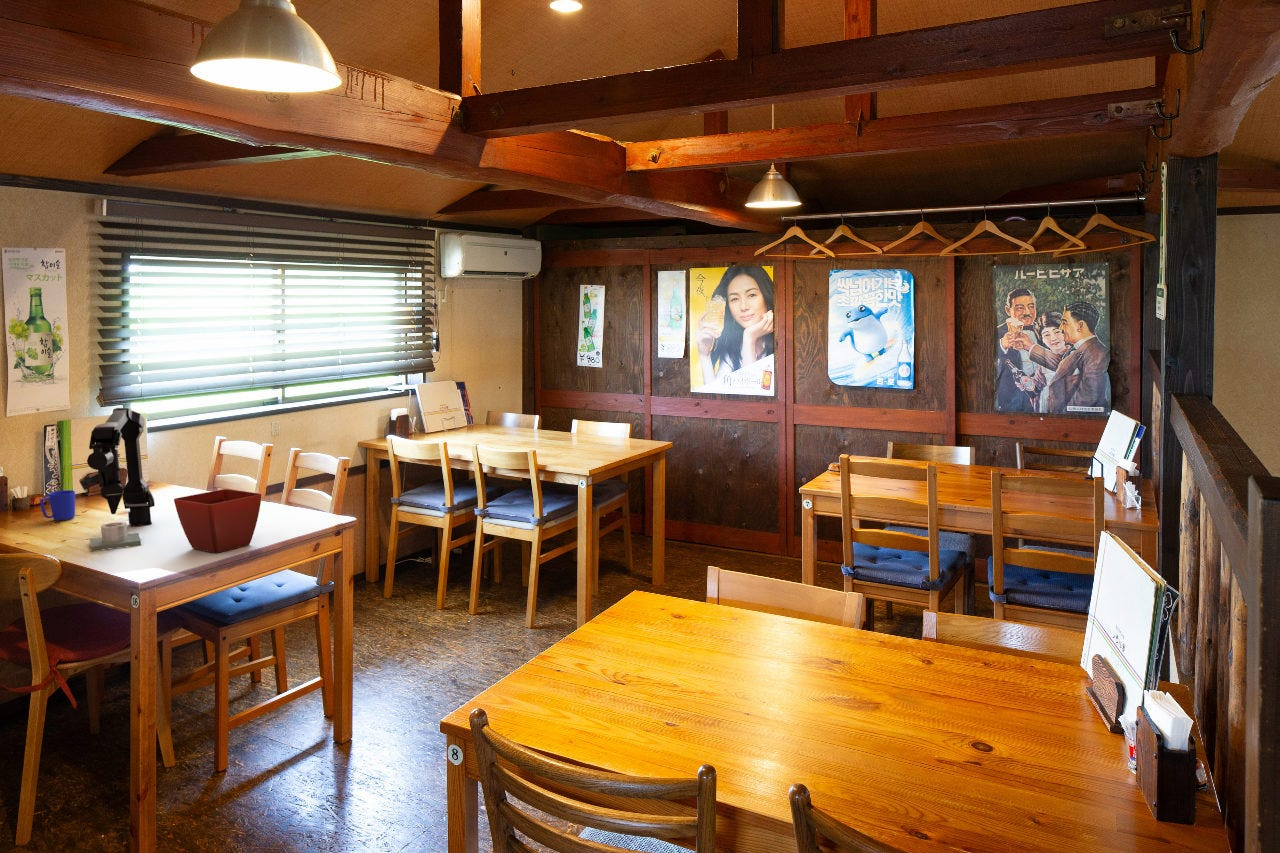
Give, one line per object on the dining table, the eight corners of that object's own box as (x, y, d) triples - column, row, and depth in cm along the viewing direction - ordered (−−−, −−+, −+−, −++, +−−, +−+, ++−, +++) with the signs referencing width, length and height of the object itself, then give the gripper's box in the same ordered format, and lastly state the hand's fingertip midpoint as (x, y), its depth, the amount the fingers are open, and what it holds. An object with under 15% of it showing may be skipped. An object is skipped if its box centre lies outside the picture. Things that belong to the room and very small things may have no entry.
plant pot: (229, 536, 307) (225, 487, 305) (266, 543, 298) (263, 493, 295) (176, 550, 291) (172, 498, 289) (213, 558, 281) (209, 504, 279)
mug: (35, 523, 328) (32, 496, 327) (67, 515, 339) (64, 489, 338) (50, 525, 325) (48, 497, 324) (82, 517, 336) (80, 491, 335)
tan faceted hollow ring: (126, 535, 303) (125, 521, 303) (128, 540, 297) (126, 525, 296) (101, 538, 299) (100, 524, 299) (102, 543, 293) (101, 528, 293)
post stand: (138, 537, 307) (137, 518, 306) (141, 545, 297) (139, 525, 296) (90, 543, 300) (88, 523, 299) (91, 551, 290) (89, 531, 289)
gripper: (79, 462, 299) (83, 509, 301) (80, 471, 283) (84, 520, 285) (118, 459, 305) (122, 504, 307) (121, 467, 289) (125, 515, 291)
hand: (112, 511), depth 297 cm, fingers open, 9 cm apart
